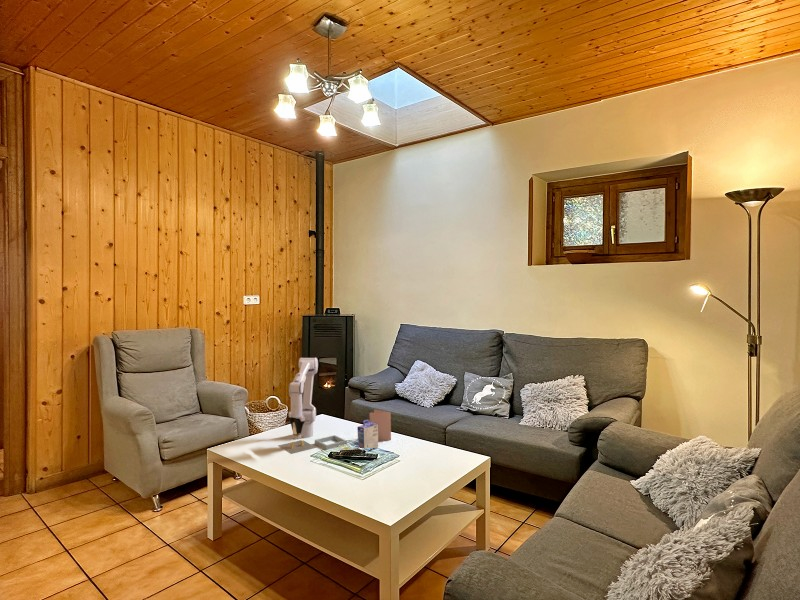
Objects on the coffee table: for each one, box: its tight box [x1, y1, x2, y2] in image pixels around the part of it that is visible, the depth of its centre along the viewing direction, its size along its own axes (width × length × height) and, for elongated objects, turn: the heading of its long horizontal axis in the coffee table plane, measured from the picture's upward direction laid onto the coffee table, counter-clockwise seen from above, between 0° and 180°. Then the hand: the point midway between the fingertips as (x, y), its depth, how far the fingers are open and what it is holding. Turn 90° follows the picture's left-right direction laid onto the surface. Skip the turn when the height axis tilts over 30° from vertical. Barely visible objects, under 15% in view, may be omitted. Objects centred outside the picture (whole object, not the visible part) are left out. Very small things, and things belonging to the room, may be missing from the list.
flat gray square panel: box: [277, 439, 318, 455], centre depth 232 cm, size 16×14×4 cm
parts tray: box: [314, 435, 348, 451], centre depth 235 cm, size 12×12×4 cm
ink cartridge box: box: [357, 419, 379, 449], centre depth 231 cm, size 10×6×14 cm, turn 136°
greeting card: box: [368, 409, 392, 441], centre depth 246 cm, size 11×7×15 cm, turn 54°
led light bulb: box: [292, 422, 302, 440], centre depth 232 cm, size 4×4×8 cm
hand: (296, 432), depth 232 cm, fingers closed on led light bulb, 4 cm apart
